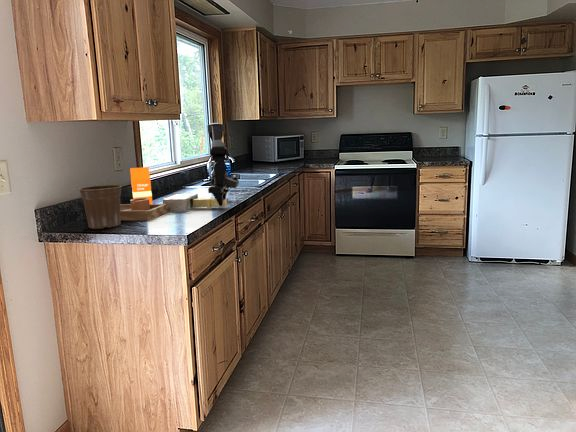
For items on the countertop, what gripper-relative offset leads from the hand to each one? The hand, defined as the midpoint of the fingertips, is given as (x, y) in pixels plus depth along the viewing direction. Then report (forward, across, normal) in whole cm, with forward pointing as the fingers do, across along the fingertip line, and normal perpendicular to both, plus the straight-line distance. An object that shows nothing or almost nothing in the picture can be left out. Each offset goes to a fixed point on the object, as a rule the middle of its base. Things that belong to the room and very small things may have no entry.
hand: (222, 205), depth 214 cm
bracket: (+2, -18, +36) cm, 41 cm away
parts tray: (+2, -18, +36) cm, 41 cm away
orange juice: (+2, +4, +42) cm, 43 cm away
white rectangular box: (+2, 0, +20) cm, 21 cm away
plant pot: (+2, -38, +38) cm, 53 cm away
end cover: (+1, 0, +6) cm, 6 cm away
